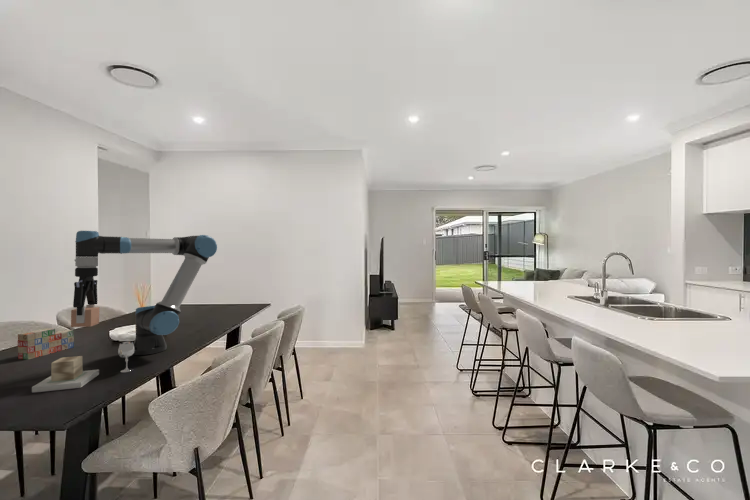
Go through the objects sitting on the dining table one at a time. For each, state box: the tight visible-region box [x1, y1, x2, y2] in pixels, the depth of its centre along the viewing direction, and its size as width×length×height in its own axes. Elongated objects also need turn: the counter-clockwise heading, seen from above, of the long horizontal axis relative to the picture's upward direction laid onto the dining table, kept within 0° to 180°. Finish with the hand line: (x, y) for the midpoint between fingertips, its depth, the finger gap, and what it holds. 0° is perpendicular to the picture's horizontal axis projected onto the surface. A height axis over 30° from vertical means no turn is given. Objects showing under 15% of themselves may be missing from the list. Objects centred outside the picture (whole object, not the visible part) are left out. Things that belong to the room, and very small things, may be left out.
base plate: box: [31, 369, 100, 393], centre depth 139 cm, size 15×15×2 cm
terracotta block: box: [70, 306, 100, 328], centre depth 151 cm, size 7×7×7 cm
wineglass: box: [117, 340, 135, 373], centre depth 153 cm, size 6×6×12 cm
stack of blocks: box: [17, 327, 75, 360], centre depth 181 cm, size 21×6×12 cm, turn 168°
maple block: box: [50, 355, 84, 381], centre depth 139 cm, size 7×7×7 cm
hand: (85, 321), depth 151 cm, fingers closed on terracotta block, 7 cm apart
